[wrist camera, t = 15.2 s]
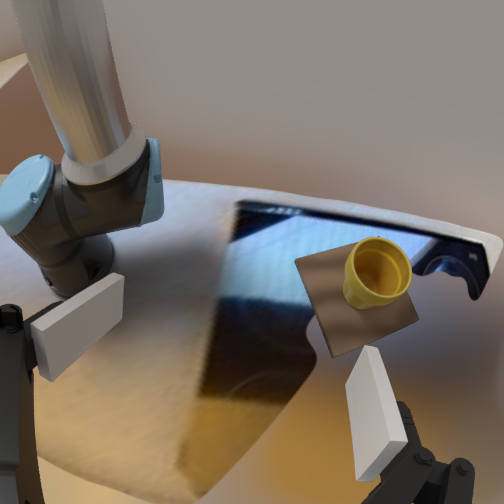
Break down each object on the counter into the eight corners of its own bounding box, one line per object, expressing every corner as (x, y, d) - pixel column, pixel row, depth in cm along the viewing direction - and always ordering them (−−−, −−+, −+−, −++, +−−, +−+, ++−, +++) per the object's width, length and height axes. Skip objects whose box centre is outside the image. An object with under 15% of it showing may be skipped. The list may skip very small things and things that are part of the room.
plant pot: (362, 254, 54) (383, 225, 46) (396, 298, 50) (424, 275, 42) (320, 282, 51) (337, 255, 43) (356, 331, 47) (381, 312, 39)
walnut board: (294, 262, 54) (295, 258, 53) (376, 239, 58) (379, 236, 57) (332, 358, 46) (334, 356, 45) (416, 321, 50) (419, 319, 49)
